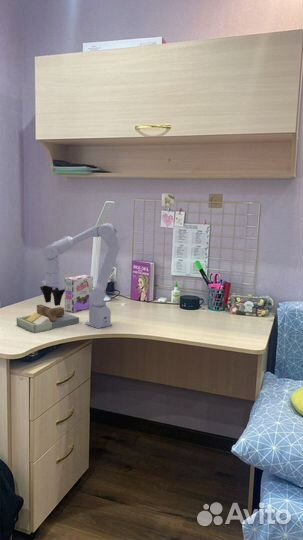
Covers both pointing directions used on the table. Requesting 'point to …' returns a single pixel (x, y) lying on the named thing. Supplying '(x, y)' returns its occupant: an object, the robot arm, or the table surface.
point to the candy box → (78, 292)
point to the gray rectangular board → (59, 322)
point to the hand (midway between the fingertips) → (52, 303)
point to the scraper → (50, 312)
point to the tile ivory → (41, 320)
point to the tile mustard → (33, 318)
